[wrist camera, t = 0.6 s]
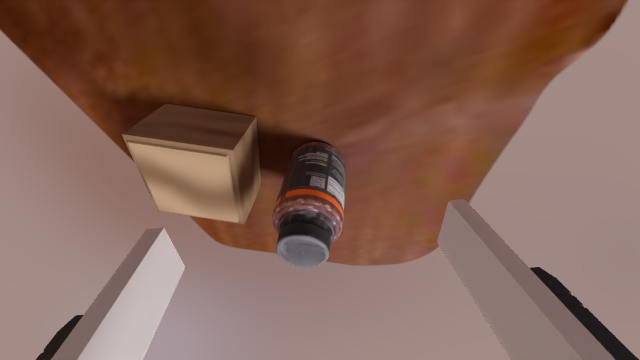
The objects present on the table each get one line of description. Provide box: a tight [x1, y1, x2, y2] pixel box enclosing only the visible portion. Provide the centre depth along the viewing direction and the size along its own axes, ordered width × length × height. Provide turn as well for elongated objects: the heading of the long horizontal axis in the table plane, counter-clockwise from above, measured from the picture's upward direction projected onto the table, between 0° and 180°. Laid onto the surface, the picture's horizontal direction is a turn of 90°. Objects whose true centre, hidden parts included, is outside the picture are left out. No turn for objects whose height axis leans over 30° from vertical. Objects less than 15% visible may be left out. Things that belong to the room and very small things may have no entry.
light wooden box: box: [122, 104, 261, 224], centre depth 25 cm, size 9×9×6 cm
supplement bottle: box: [272, 142, 345, 267], centre depth 23 cm, size 6×6×11 cm
